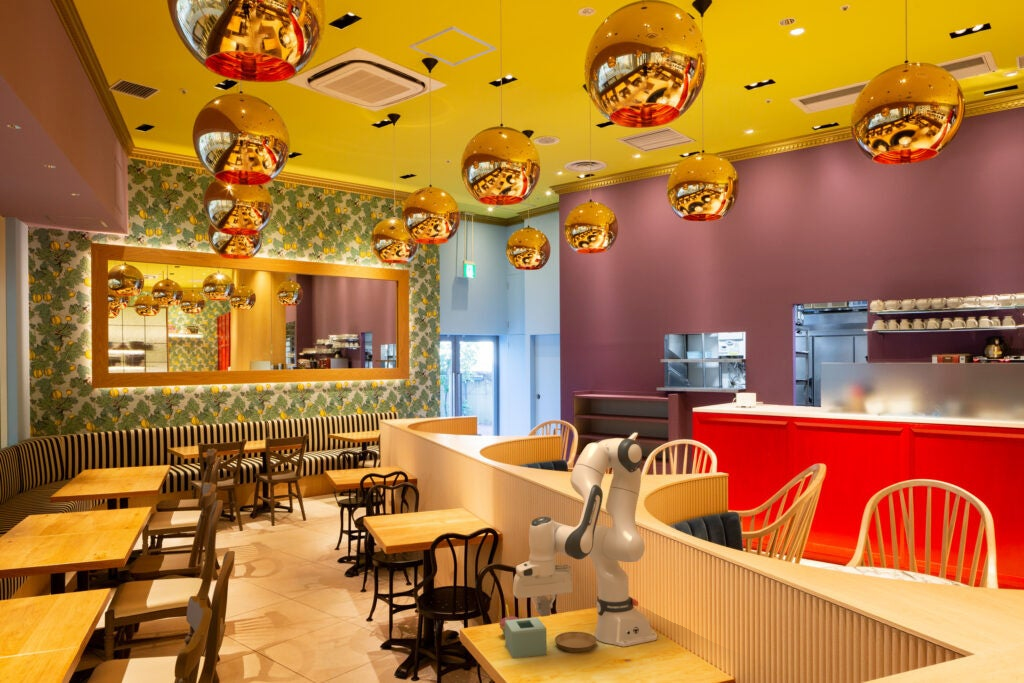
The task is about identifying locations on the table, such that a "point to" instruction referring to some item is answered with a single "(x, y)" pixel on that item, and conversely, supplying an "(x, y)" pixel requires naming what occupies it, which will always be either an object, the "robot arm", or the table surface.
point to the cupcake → (502, 622)
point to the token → (543, 606)
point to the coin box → (525, 637)
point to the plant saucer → (575, 641)
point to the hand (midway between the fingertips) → (543, 608)
